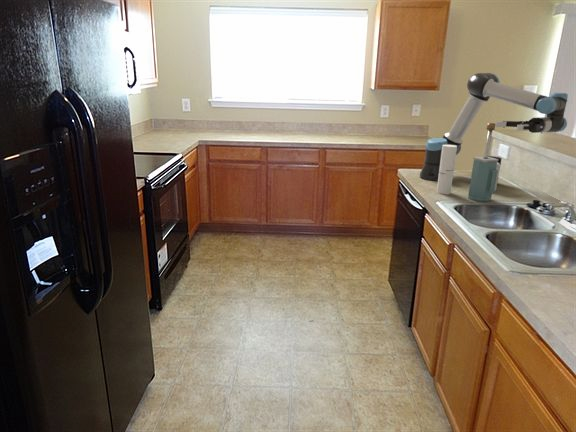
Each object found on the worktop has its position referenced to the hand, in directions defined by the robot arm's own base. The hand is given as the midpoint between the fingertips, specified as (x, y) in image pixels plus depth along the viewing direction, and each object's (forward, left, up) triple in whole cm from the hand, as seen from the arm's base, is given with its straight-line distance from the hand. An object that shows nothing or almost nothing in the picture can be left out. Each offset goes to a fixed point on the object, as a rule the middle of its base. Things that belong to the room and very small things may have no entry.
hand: (506, 126), depth 213 cm
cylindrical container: (-16, -19, -37) cm, 44 cm away
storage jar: (-26, +21, -37) cm, 50 cm away
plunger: (0, -9, -24) cm, 25 cm away
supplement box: (-16, +10, -37) cm, 41 cm away
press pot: (+1, -9, -37) cm, 38 cm away
